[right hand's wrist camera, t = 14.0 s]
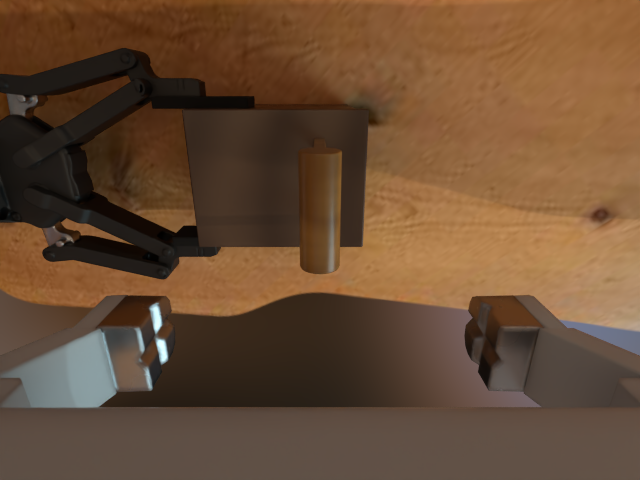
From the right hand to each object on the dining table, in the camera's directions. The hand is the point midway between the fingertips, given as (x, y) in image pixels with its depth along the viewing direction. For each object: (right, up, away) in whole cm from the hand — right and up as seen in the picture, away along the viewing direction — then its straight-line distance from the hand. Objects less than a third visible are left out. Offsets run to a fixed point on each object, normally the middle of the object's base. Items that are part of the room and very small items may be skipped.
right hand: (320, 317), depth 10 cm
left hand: (-5, +7, +18) cm, 20 cm away
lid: (-3, +6, +16) cm, 18 cm away
